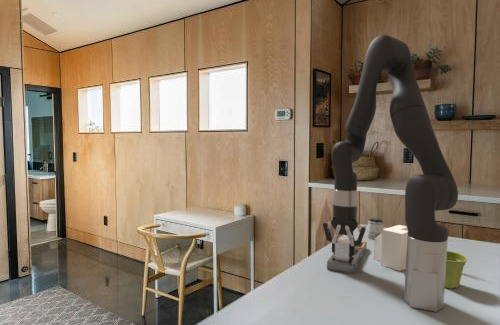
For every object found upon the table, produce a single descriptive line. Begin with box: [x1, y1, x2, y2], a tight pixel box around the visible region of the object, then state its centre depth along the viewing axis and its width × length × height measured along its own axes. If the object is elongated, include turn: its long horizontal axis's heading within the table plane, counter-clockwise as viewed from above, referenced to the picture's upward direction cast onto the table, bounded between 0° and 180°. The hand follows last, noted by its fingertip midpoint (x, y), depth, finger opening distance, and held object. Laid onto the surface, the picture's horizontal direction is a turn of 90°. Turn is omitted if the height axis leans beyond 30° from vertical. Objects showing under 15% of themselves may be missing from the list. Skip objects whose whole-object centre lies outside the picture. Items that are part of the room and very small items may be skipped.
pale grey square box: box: [334, 238, 351, 263], centre depth 118 cm, size 4×4×8 cm
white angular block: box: [373, 224, 408, 272], centre depth 123 cm, size 11×11×12 cm
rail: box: [326, 239, 368, 275], centre depth 127 cm, size 28×8×3 cm, turn 154°
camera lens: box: [367, 218, 385, 240], centre depth 152 cm, size 6×6×8 cm
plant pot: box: [445, 250, 468, 289], centre depth 105 cm, size 9×9×9 cm
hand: (343, 255), depth 118 cm, fingers closed on pale grey square box, 4 cm apart
